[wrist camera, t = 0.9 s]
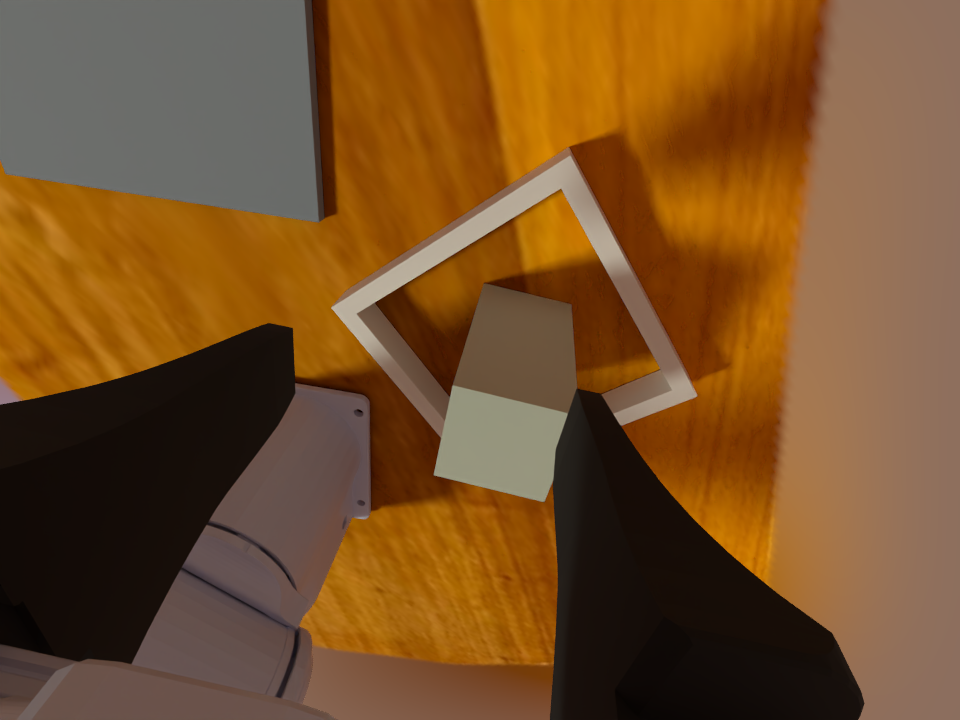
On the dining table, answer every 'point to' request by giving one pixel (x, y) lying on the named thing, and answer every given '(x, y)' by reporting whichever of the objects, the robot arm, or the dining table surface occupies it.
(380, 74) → the dining table surface
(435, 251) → the rectangular frame
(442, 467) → the block
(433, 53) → the dining table surface
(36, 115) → the mat
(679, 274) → the dining table surface
